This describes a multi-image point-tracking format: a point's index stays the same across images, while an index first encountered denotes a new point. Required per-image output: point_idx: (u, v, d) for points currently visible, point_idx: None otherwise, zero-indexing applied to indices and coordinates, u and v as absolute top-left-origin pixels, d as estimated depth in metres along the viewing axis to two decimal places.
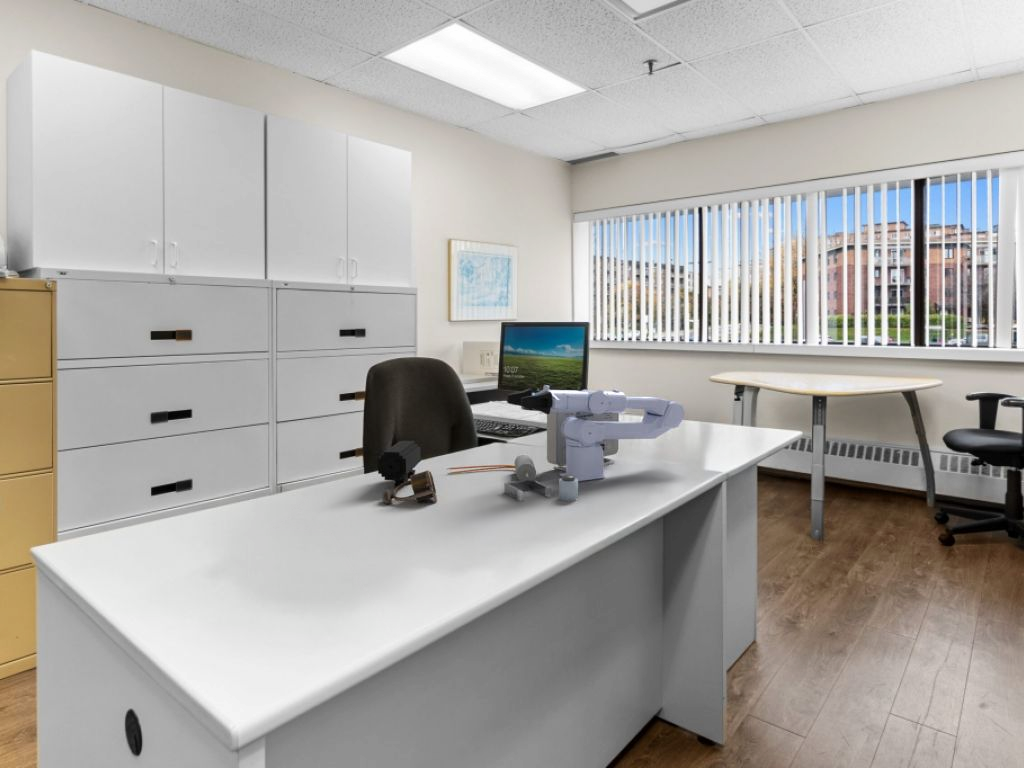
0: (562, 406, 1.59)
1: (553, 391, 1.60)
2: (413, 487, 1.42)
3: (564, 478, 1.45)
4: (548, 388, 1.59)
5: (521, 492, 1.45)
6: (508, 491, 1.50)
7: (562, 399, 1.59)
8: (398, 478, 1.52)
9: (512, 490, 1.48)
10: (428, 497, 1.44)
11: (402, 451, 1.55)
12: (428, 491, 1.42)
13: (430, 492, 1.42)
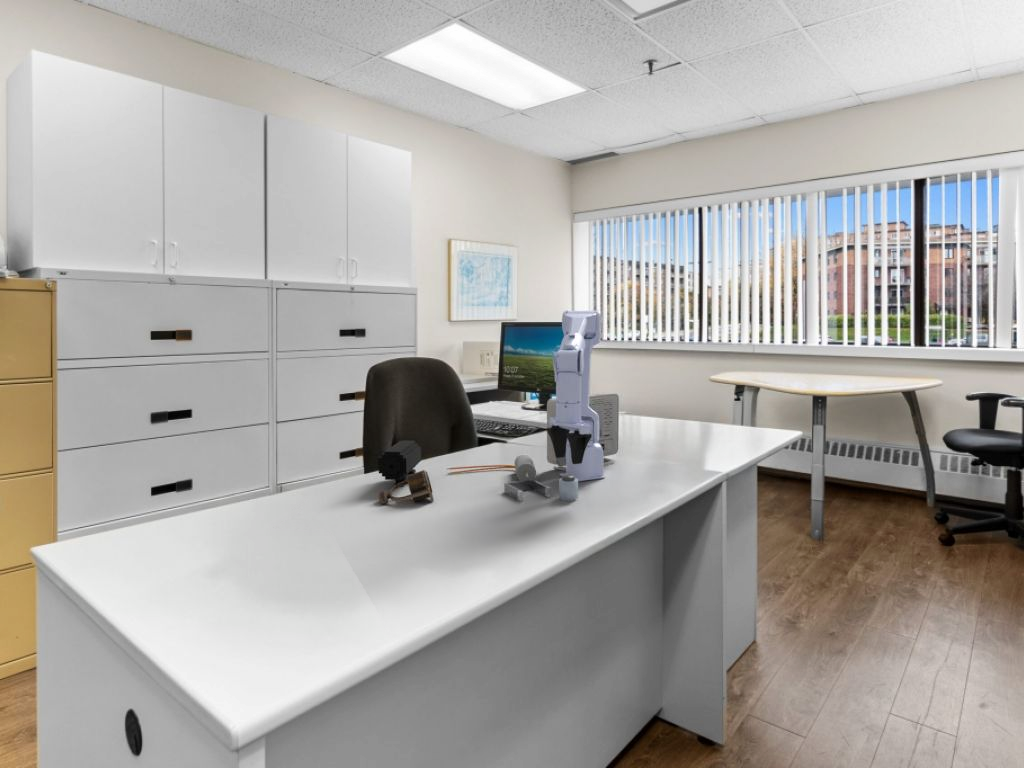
0: (578, 408, 1.43)
1: (561, 417, 1.43)
2: (410, 487, 1.43)
3: (564, 478, 1.45)
4: (558, 424, 1.43)
5: (521, 492, 1.45)
6: (508, 491, 1.50)
7: (571, 410, 1.42)
8: (398, 478, 1.53)
9: (512, 490, 1.48)
10: (425, 497, 1.44)
11: (402, 451, 1.55)
12: (425, 491, 1.42)
13: (427, 492, 1.42)
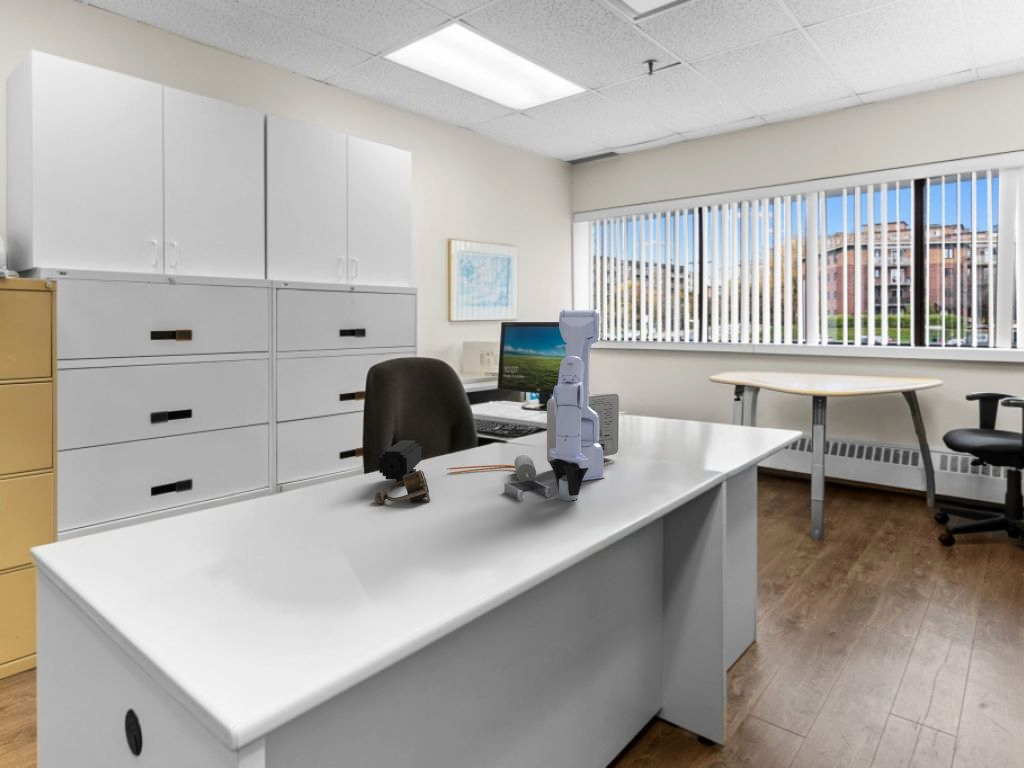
0: (578, 441, 1.44)
1: (561, 450, 1.43)
2: (407, 487, 1.43)
3: (564, 478, 1.45)
4: (558, 457, 1.43)
5: (521, 492, 1.45)
6: (508, 491, 1.50)
7: (571, 443, 1.43)
8: (399, 477, 1.53)
9: (512, 490, 1.48)
10: (421, 497, 1.44)
11: (403, 450, 1.55)
12: (422, 491, 1.42)
13: (424, 492, 1.43)
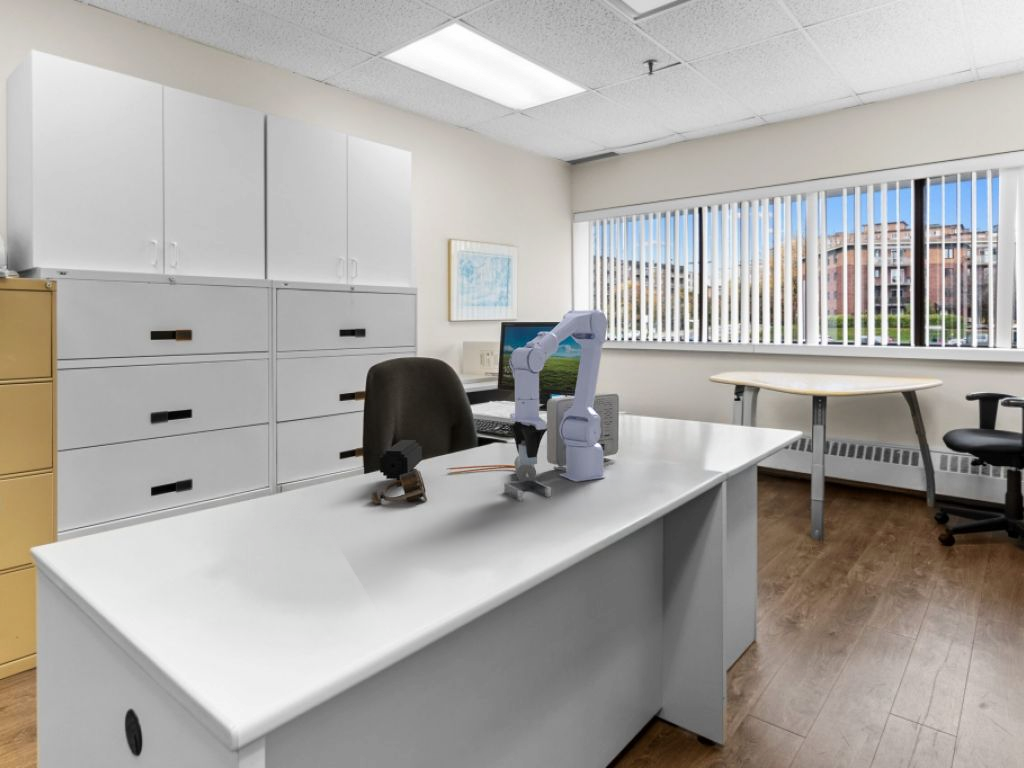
0: (536, 404, 1.47)
1: (519, 413, 1.47)
2: (403, 487, 1.43)
3: (523, 442, 1.49)
4: (516, 420, 1.47)
5: (521, 492, 1.45)
6: (508, 491, 1.50)
7: (529, 406, 1.46)
8: None
9: (512, 490, 1.48)
10: (418, 496, 1.45)
11: (404, 450, 1.56)
12: (419, 490, 1.43)
13: (421, 491, 1.43)
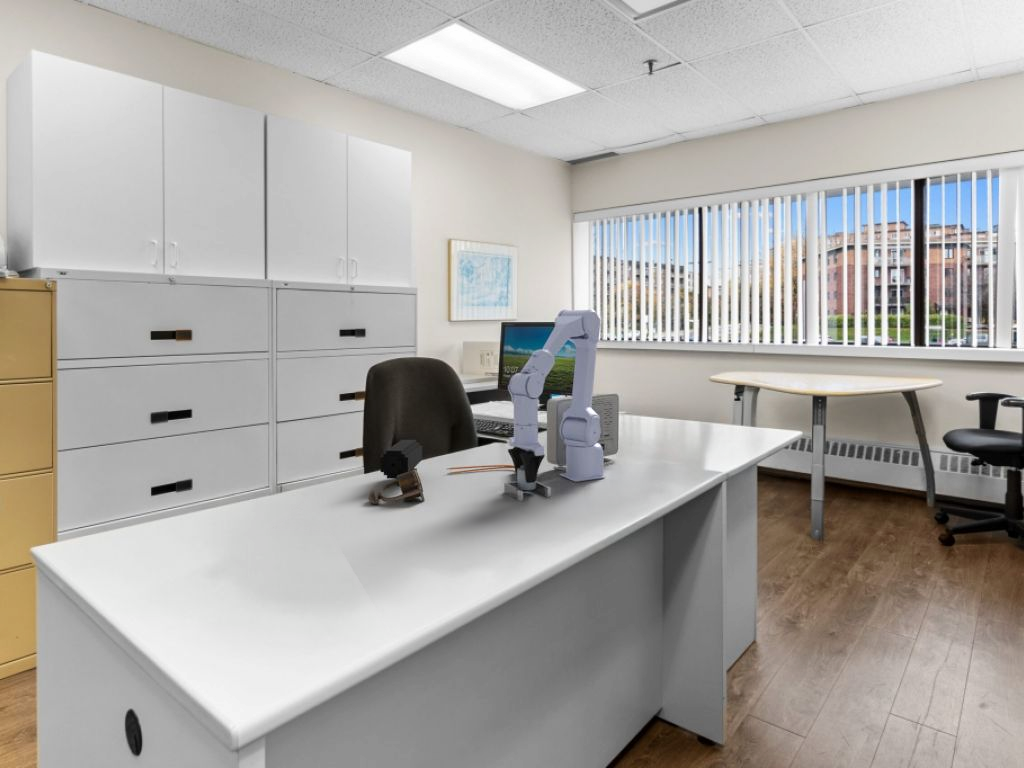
0: (535, 430, 1.48)
1: (518, 439, 1.47)
2: (401, 487, 1.43)
3: (521, 467, 1.50)
4: (515, 445, 1.47)
5: (521, 492, 1.45)
6: (508, 491, 1.50)
7: (528, 431, 1.47)
8: None
9: (512, 490, 1.48)
10: (416, 496, 1.45)
11: (404, 450, 1.56)
12: (416, 490, 1.43)
13: (418, 491, 1.43)
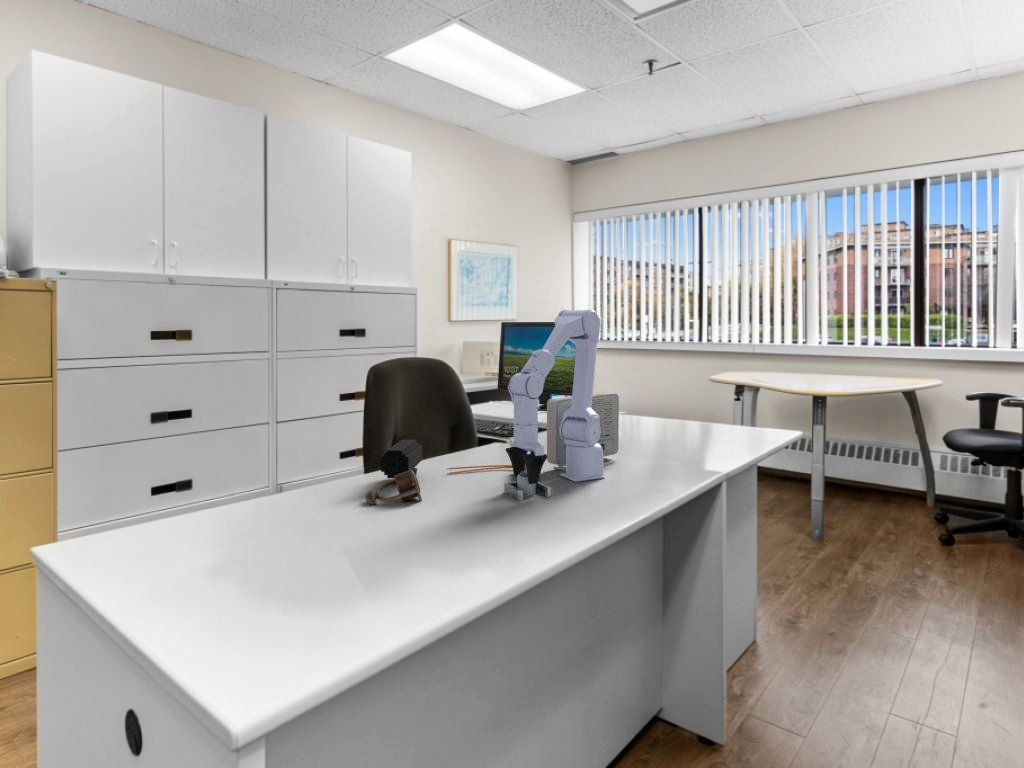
0: (535, 430, 1.48)
1: (518, 439, 1.47)
2: (398, 487, 1.43)
3: (521, 474, 1.50)
4: (515, 445, 1.47)
5: (521, 492, 1.45)
6: (508, 491, 1.50)
7: (528, 431, 1.47)
8: None
9: (512, 490, 1.48)
10: (413, 496, 1.45)
11: (404, 449, 1.57)
12: (414, 490, 1.43)
13: (416, 491, 1.43)
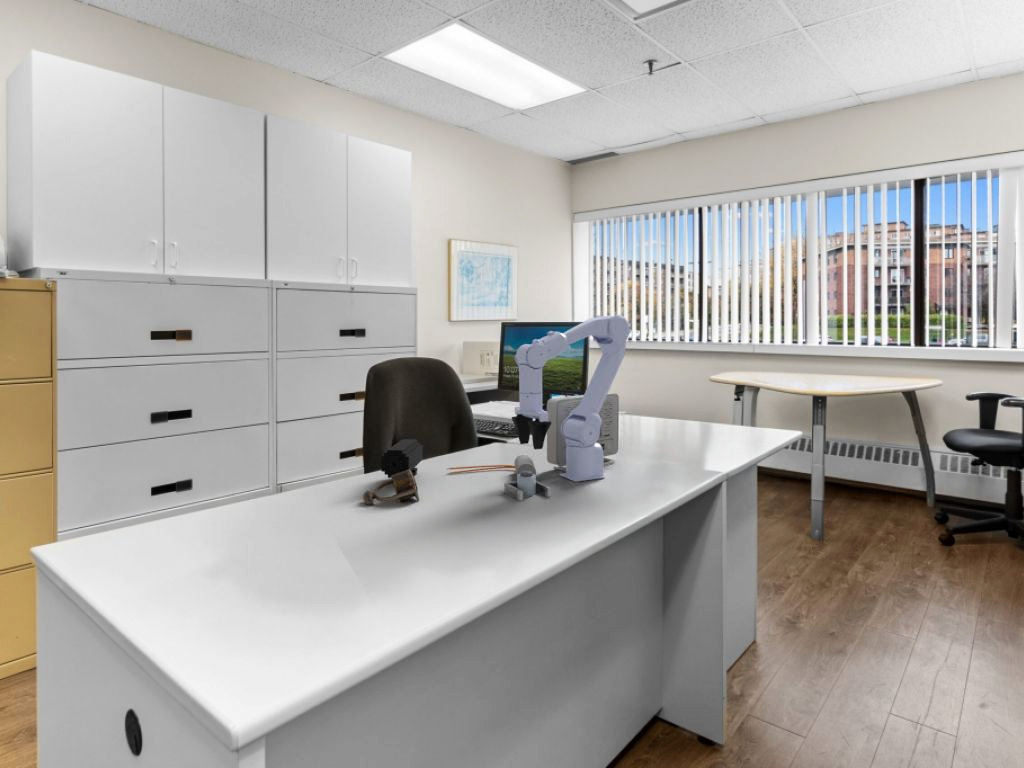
0: (539, 398, 1.55)
1: (523, 406, 1.55)
2: (396, 487, 1.43)
3: (521, 474, 1.50)
4: (521, 412, 1.55)
5: (521, 492, 1.45)
6: (508, 491, 1.50)
7: (533, 399, 1.54)
8: None
9: (512, 490, 1.48)
10: (410, 496, 1.45)
11: (405, 449, 1.57)
12: (412, 490, 1.43)
13: (414, 491, 1.43)
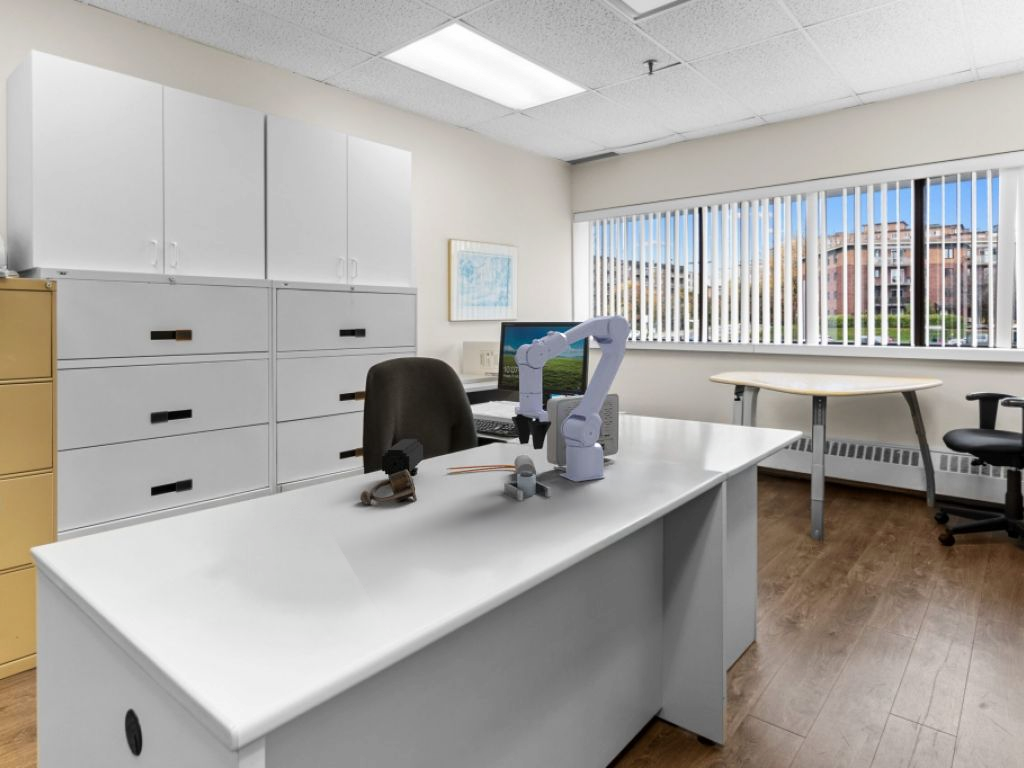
0: (539, 398, 1.55)
1: (523, 406, 1.55)
2: (394, 487, 1.43)
3: (521, 474, 1.50)
4: (521, 412, 1.55)
5: (521, 492, 1.45)
6: (508, 491, 1.50)
7: (533, 399, 1.54)
8: None
9: (512, 490, 1.48)
10: (408, 496, 1.45)
11: (405, 449, 1.57)
12: (409, 490, 1.43)
13: (411, 491, 1.43)
